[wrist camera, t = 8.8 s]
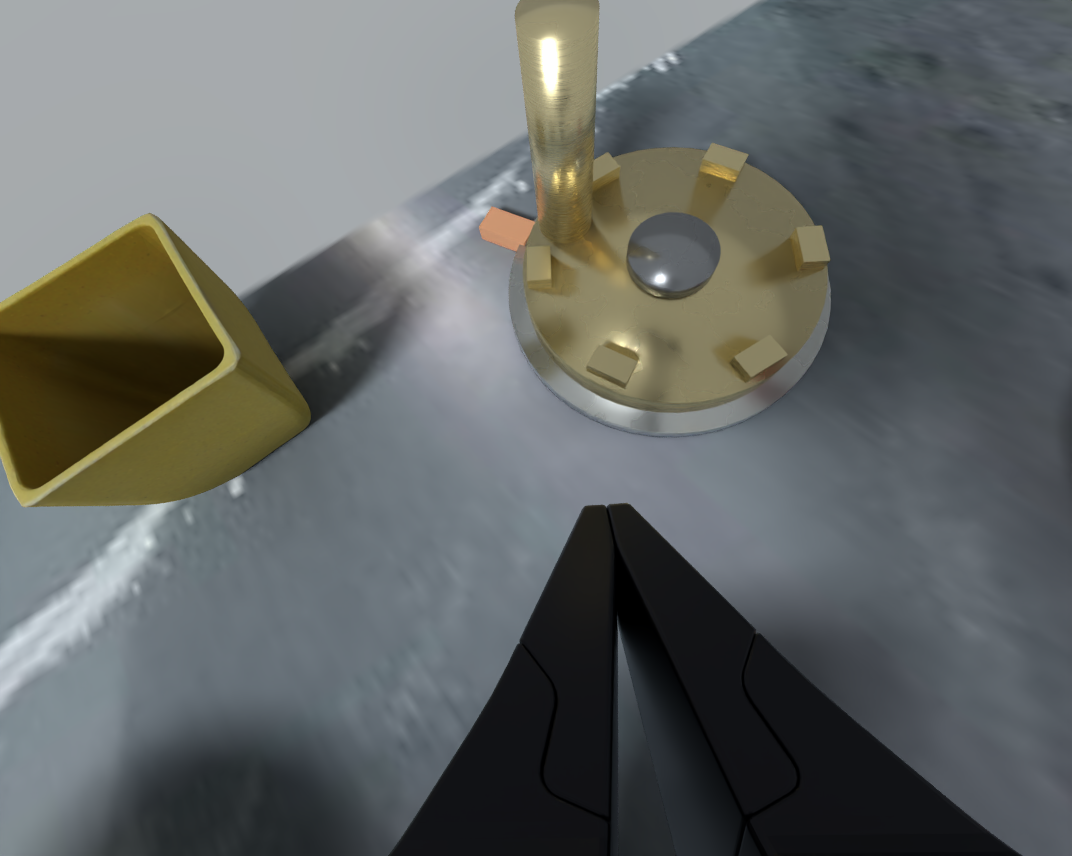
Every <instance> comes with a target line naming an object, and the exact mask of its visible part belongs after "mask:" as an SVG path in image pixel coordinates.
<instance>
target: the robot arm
mask: <svg viewBox="0 0 1072 856" xmlns="http://www.w3.org/2000/svg"><path fill="white" fill-rule="evenodd" d="M617 620H618V626H619V631H620V635H621V640H622V643H623V647H624V651H625V655H626V659H627V663H628V667H629V671H630V675H631V679H632V683H633V687H634V691H635V695H636V699H637V703H638V706H639V710H640V714H641V718H642V722H643V726H644V730H645V734H646V738H647V742H648V746H649V750H650V754H651V758H652V762H653V766H654V769H655V773H656V777H657V781H658V785H659V789H660V793H661V797H662V801H663V805H664V809H665V813H666V817H667V821H668V825H669V829H670V832H671V836H672V840H673V844H674V848H675V852H676V856H1022V855H1021V854H1019V853H1018V852H1016V851H1015V850H1013V849H1012V848H1011V847H1009V846H1008V845H1006V844H1005V843H1004V842H1002V841H1001V840H1000V839H998V838H997V837H995V836H994V835H993V834H991V833H990V832H989V831H987V830H986V829H985V828H984V827H982V826H981V825H980V824H979V823H977V822H976V821H975V820H974V819H972V818H971V817H970V816H969V815H967V814H966V813H965V812H964V811H962V810H961V809H960V808H959V807H958V806H956V805H955V804H954V803H953V802H952V801H951V800H949V799H948V798H947V797H946V796H945V795H943V794H942V793H941V792H940V791H939V790H937V789H936V788H935V787H934V786H933V785H931V784H930V783H929V782H928V781H927V780H925V779H924V778H923V777H922V776H921V775H919V774H918V773H917V772H916V771H915V770H913V769H912V768H911V767H910V766H909V765H907V764H906V763H905V762H904V761H903V760H901V759H900V758H899V757H898V756H897V755H895V754H894V753H893V752H892V751H891V750H889V749H888V748H887V747H886V746H885V745H884V744H882V743H881V742H880V741H879V740H878V739H876V738H875V737H874V736H873V735H872V734H870V733H869V732H868V731H867V730H866V729H864V728H863V727H862V726H861V725H860V724H858V723H857V722H856V721H855V720H854V719H852V718H851V717H850V716H849V715H848V714H847V713H846V712H844V711H843V710H842V709H841V708H840V707H839V706H837V705H836V704H835V703H834V702H833V701H832V700H831V699H829V698H828V697H827V696H826V695H825V694H824V693H822V692H821V691H820V690H819V689H818V688H817V687H816V686H814V685H813V684H812V683H811V682H810V681H809V680H808V679H807V678H806V677H805V676H804V675H803V674H802V673H800V672H799V671H798V670H797V669H796V668H795V667H794V666H793V665H792V664H791V663H790V662H789V661H788V660H787V659H786V658H785V657H784V656H783V655H781V654H780V653H779V652H778V651H777V650H776V649H775V648H774V647H773V646H772V645H771V644H770V643H769V642H768V641H767V640H766V639H765V638H764V637H763V636H762V635H761V634H760V633H757V634H756V629H755V628H754V627H753V626H752V625H751V624H750V623H749V622H748V621H747V620H746V619H745V618H744V617H743V616H742V615H741V614H740V613H739V612H738V611H737V610H736V609H735V608H734V607H733V606H732V605H731V604H730V603H729V602H728V601H727V600H726V599H725V598H724V597H723V596H722V595H721V594H720V593H719V592H718V591H717V590H716V589H715V588H714V587H713V586H712V585H711V584H710V583H709V582H708V581H707V580H706V579H705V578H704V577H703V576H702V575H701V574H700V573H699V572H698V571H697V570H696V569H695V568H694V567H693V566H692V565H691V564H690V563H689V562H688V561H687V560H685V559H684V558H683V557H682V556H681V555H680V554H679V553H678V552H677V551H676V550H675V549H674V548H673V547H672V546H671V545H670V544H669V543H668V542H667V541H666V540H665V539H664V538H663V537H662V536H661V535H660V534H659V533H658V532H657V531H656V530H655V529H654V528H653V527H652V526H651V525H650V524H649V523H648V522H647V521H646V520H645V519H644V518H643V517H642V516H641V515H640V514H639V513H638V512H637V511H636V510H635V509H634V508H633V507H632V506H631V505H630V504H628V503H620V504H609V505H608V506H607V508H606V506H604V505H589V506H585V507H583V509H582V511H581V513H580V515H579V517H578V519H577V521H576V523H575V526H574V528H573V530H572V532H571V534H570V536H569V538H568V540H567V542H566V544H565V546H564V548H563V551H562V553H561V555H560V557H559V559H558V561H557V563H556V565H555V567H554V569H553V571H552V573H551V576H550V578H549V580H548V582H547V584H546V586H545V588H544V590H543V592H542V594H541V596H540V599H539V601H538V603H537V605H536V607H535V609H534V611H533V613H532V615H531V617H530V619H529V621H528V624H527V626H526V628H525V630H524V632H523V634H522V636H521V638H520V644H517V646H516V648H515V650H514V652H513V654H512V656H511V658H510V661H509V663H508V665H507V667H506V669H505V670H504V672H503V674H502V676H501V678H500V680H499V682H498V684H497V686H496V688H495V690H494V691H493V693H492V695H491V697H490V699H489V700H488V702H487V704H486V705H485V707H484V709H483V710H482V712H481V714H480V715H479V717H478V719H477V720H476V722H475V724H474V725H473V727H472V729H471V730H470V732H469V733H468V735H467V736H466V738H465V740H464V741H463V743H462V744H461V746H460V747H459V749H458V751H457V752H456V754H455V755H454V757H453V758H452V760H451V761H450V763H449V765H448V766H447V768H446V769H445V771H444V772H443V774H442V776H441V777H440V779H439V780H438V782H437V783H436V785H435V786H434V788H433V790H432V791H431V793H430V794H429V796H428V797H427V799H426V801H425V802H424V804H423V805H422V807H421V808H420V810H419V811H418V813H417V815H416V816H415V818H414V819H413V821H412V822H411V824H410V825H409V827H408V828H407V830H406V831H405V833H404V834H403V836H402V837H401V839H400V840H399V842H398V843H397V845H396V846H395V847H394V849H393V850H392V851H391V853H390V854H389V855H388V856H618V628H617Z"/></svg>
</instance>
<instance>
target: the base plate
mask: <svg viewBox="0 0 1072 856" xmlns="http://www.w3.org/2000/svg"><path fill="white" fill-rule="evenodd" d="M537 218H538V216H537V217H536V219H535V220H534V222H536V220H537ZM526 245H527V242H526V244H525V246H523V245H520V244H519V247H518V249H517V252H516V254H515V257H514V260H513V264H512V269H511V273H510V281H509V307H510V314H511V318H512V323H513V327H514V331H515V334H516V337H517V340H518V342H519V345H520V348H521V350H522V352H523V354H524V356H525V358H526V359H527V361H528V363H529V365H530V367H531V368H532V369H533V371H534V372H535V373H536V375H537V376H538V377H539V379H540V380H541V381H542V382H543V383H544V384H545V385H546V386H547V387H548V388H549V389H550V390H551V392H552V393H553V394H554V395H555V396H557V397H558V398H559V399H561V400H562V401H563V402H564V403H566V404H567V405H568V406H570V407H571V408H572V409H574V410H576V411H577V412H579V413H581V414H583V415H584V416H586V417H588V418H590V419H592V420H594V421H596V422H599V423H601V424H604V425H606V426H608V427H611V428H614V429H618V430H621V431H625V432H629V433H633V434H639V435H646V436H652V437H686V436H696V435H702V434H706V433H711V432H715V431H720V430H723V429H726V428H728V427H731V426H734V425H736V424H739V423H742V422H744V421H746V420H747V419H749V418H751V417H753V416H755V415H757V414H759V413H761V412H762V411H763V410H765V409H766V408H768V407H769V406H770V405H772V404H773V403H775V402H776V401H777V400H779V399H780V398H781V397H782V396H783V395H785V394H786V393H787V392H788V391H789V390H790V389H791V388H792V387H793V386H794V385H795V384H796V383H797V382H798V381H799V380H800V379H801V377H802V376H803V375H804V373H805V372H806V371H807V370H808V368H809V367H810V366H811V364H812V363H813V361H814V359H815V357H816V355H817V353H818V351H819V350H820V348H821V346H822V343H823V340H824V337H825V334H826V331H827V328H828V322H829V317H830V311H831V288H830V282H829V275H828V287H827V293H826V299H825V304H824V307H823V310H822V313H821V316H820V318H819V321H818V323H817V325H816V327H815V328H814V330H813V332H812V334H811V336H810V337H809V339H808V340H807V341H806V343H805V344H804V345H803V347H802V348H801V349H800V350H799V352H798V353H797V354H796V355H795V356H794V357H793V358H792V359H790V360H789V361H788V362H787V363H786V364H785V365H784V366H783V367H782V368H781V369H780V370H779V371H778V372H777V373H776V374H775V375H774V376H773V377H772V378H771V379H770V380H768V381H767V382H765V383H764V384H763V385H761V386H760V387H758V388H757V389H756V390H754V391H752V392H750V393H748V394H747V395H745V396H743V397H741V398H739V399H737V400H734V401H732V402H729V403H726V404H723V405H721V406H718V407H713V408H709V409H705V410H700V411H692V412H682V413H659V412H651V411H644V410H638V409H634V408H630V407H626V406H623V405H619V404H616V403H614V402H611V401H609V400H606V399H604V398H602V397H600V396H598V395H596V394H594V393H592V392H591V391H589V390H587V389H585V388H583V387H582V386H581V385H579V384H578V383H577V382H575V381H574V380H573V379H571V378H570V377H569V376H568V375H567V374H566V373H565V372H564V371H562V370H561V369H560V368H559V367H558V366H557V365H556V364H555V362H554V361H553V360H552V358H551V357H550V356H549V355H548V353H547V352H546V351H545V349H544V347H543V346H542V344H541V342H540V341H539V339H538V337H537V335H536V332H535V330H534V327H533V325H532V323H531V319H530V315H529V311H528V306H527V302H526V297H525V291H524V283H523V261H524V254H525V249H526ZM720 254H721V247H720V242H719V239H718V237H717V235H716V233H715V232H714V231H713V229H712V228H711V227H710V226H709V225H708V224H707V223H705V222H704V221H703V220H701V219H699V218H697V217H695V216H692V215H689V214H685V213H678V212H668V213H662V214H658V215H655V216H652V217H650V218H648V219H646V220H645V221H643V222H642V223H641V224H640V225H639V226H638V227H637V228H636V229H635V230H634V232H633V233H632V235H631V237H630V240H629V243H628V249H627V255H626V265H627V270H628V273H629V275H630V277H631V278H632V280H633V281H634V282H635V283H636V284H637V285H638V286H639V287H640V288H641V289H643V290H644V291H646V292H648V293H650V294H652V295H655V296H658V297H662V298H681V297H685V296H689V295H691V294H694V293H696V292H697V291H699V290H700V289H702V288H703V287H704V286H705V285H706V284H707V283H708V282H709V281H710V279H711V278H712V276H713V274H714V271H715V269H716V267H717V265H718V263H719V260H720Z"/></svg>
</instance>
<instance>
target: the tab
mask: <svg viewBox="0 0 1072 856" xmlns="http://www.w3.org/2000/svg"><path fill="white" fill-rule="evenodd" d="M534 224H535V222H534V221H531V220H529V219H526V218H523V217H520V216H517V215H514V214H512V213H509V212H506V211H503V210H500V209H497V208H495V207H491V209H490V210H489V212H488V213H487V215H486V217H485V218H484V220H483V221H482V223H481V225H480V226H479V229H480V233H481V236H482V239H484V240H487V241H489V242H492V243H495V244H497V245H500V246H503V247H505V248H508V249H511V250H513V251H516V252H517V249H518V247H519V244H520V245H523V246H525V244H526V242H527V241H528V238H529V235H530V233H531V230H532V228H533V225H534Z"/></svg>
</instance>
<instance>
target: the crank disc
mask: <svg viewBox="0 0 1072 856" xmlns="http://www.w3.org/2000/svg"><path fill="white" fill-rule="evenodd" d="M515 22H516V30H517V40H518V48H519V57H520V66H521V74H522V83H523V91H524V100H525V108H526V117H527V125H528V134H529V143H530V151H531V160H532V168H533V177H534V185H535V194H536V203H537V211H538V218H537V220H536V222H535V224H534V225H533V228H532V230H531V233H530V235H529V238H528V241H527V245H526V249H525V254H524V261H523V283H524V291H525V297H526V302H527V306H528V311H529V315H530V319H531V323H532V325H533V327H534V330H535V332H536V335H537V337H538V339H539V341H540V342H541V344H542V346H543V347H544V349H545V351H546V352H547V353H548V355H549V356H550V357H551V358H552V360H553V361H554V362H555V364H556V365H557V366H558V367H559V368H560V369H561V370H562V371H564V372H565V373H566V374H567V375H568V376H569V377H570V378H571V379H573V380H574V381H575V382H577V383H578V384H579V385H581V386H582V387H583V388H585V389H587V390H589V391H591V392H592V393H594V394H596V395H598V396H600V397H602V398H604V399H606V400H609V401H611V402H614V403H616V404H619V405H623V406H626V407H630V408H634V409H638V410H644V411H651V412H659V413H682V412H692V411H700V410H705V409H709V408H713V407H718V406H721V405H723V404H726V403H729V402H732V401H734V400H737V399H739V398H741V397H743V396H745V395H747V394H748V393H750V392H752V391H754V390H756V389H757V388H758V387H760V386H761V385H763V384H764V383H765V382H767V381H768V380H770V379H771V378H772V377H773V376H774V375H775V374H776V373H777V372H778V371H779V370H780V369H781V368H782V367H783V366H784V365H785V364H786V363H787V362H788V361H789V360H790V359H792V358H793V357H794V356H795V355H796V354H797V353H798V352H799V350H800V349H801V348H802V347H803V345H804V344H805V343H806V341H807V340H808V339H809V337H810V336H811V334H812V332H813V330H814V328H815V327H816V325H817V323H818V321H819V318H820V316H821V313H822V310H823V307H824V304H825V299H826V293H827V287H828V268H827V264H828V263H829V262H830V256H829V252H828V248H827V244H826V240H825V235H824V231H823V227H822V225H821V226H815V225H814V223H813V221H812V219H811V218H810V216H809V215H808V213H807V212H806V211H805V209H804V208H803V206H802V205H801V204H800V203H799V202H798V201H797V200H796V198H795V197H794V196H793V195H792V194H791V193H790V192H789V191H788V190H787V189H785V188H784V187H783V186H782V185H781V184H780V183H778V182H777V181H776V180H774V179H773V178H771V177H770V176H768V175H767V174H765V173H764V172H762V171H761V170H759V169H757V168H755V167H753V166H751V165H749V164H747V163H745V162H746V160H747V157H748V155H749V154H746V153H743V152H739V151H736V150H733V149H730V148H727V147H724V146H721V145H717V144H714V143H712V144H711V145H710V147H709V149H708V151H705V150H699V149H693V148H677V147H670V148H653V149H646V150H639V151H634V152H630V153H626V154H622V155H619V156H616V157H612V156H611V155H610V154H609V153H608V152H607V153H605V154H604V155H602V156H600V157H598V158H596V159H595V160H594V137H595V110H596V83H597V57H598V30H599V1H598V0H520V1H519V3H518V5H517V7H516V10H515ZM668 212H678V213H685V214H689V215H692V216H695V217H697V218H699V219H701V220H703V221H704V222H705V223H707V224H708V225H709V226H710V227H711V228H712V229H713V231H714V232H715V233H716V235H717V237H718V239H719V242H720V247H721V254H720V260H719V263H718V265H717V267H716V269H715V271H714V274H713V276H712V278H711V279H710V281H709V282H708V283H707V284H706V285H705V286H704V287H703V288H702V289H700V290H699V291H697V292H696V293H694V294H691V295H689V296H685V297H681V298H662V297H658V296H655V295H652V294H650V293H648V292H646V291H644V290H643V289H641V288H640V287H639V286H638V285H637V284H636V283H635V282H634V281H633V280H632V278H631V277H630V275H629V273H628V270H627V265H626V255H627V249H628V243H629V240H630V237H631V235H632V233H633V232H634V230H635V229H636V228H637V227H638V226H639V225H640V224H641V223H642V222H643V221H645V220H646V219H648V218H650V217H652V216H655V215H658V214H662V213H668Z"/></svg>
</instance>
